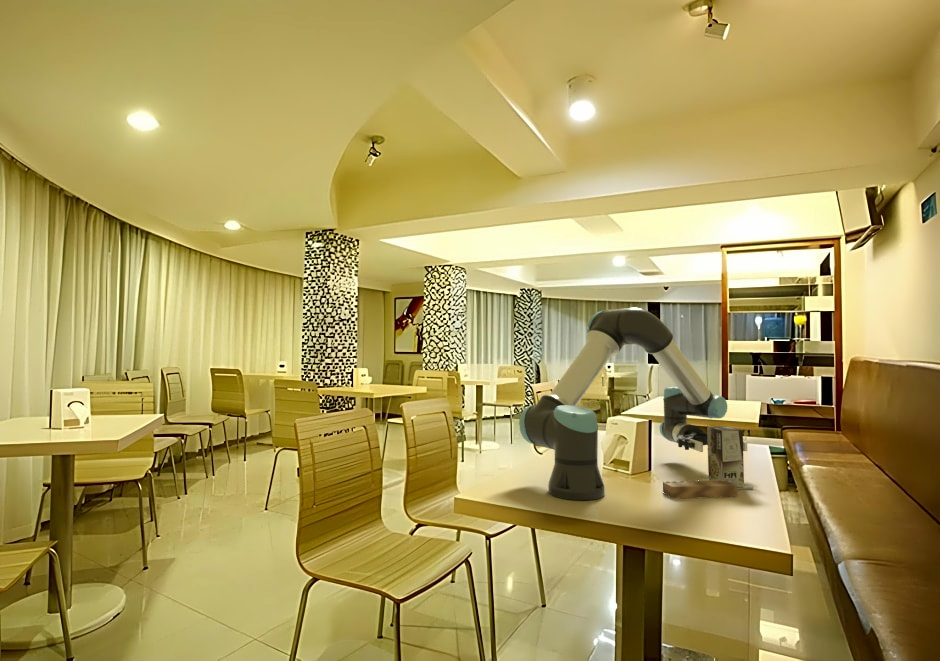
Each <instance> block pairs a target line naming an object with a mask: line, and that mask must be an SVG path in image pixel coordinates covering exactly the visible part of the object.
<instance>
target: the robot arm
mask: <svg viewBox="0 0 940 661" xmlns="http://www.w3.org/2000/svg"><path fill="white" fill-rule="evenodd" d="M587 327H588V329H586V331H587V333H586V338H587V342H586V343H585V344H584V346H583V348H581V350H580V352H579V353H578V354H577V356H576V357H575V359H574V360H573V362H572V363H571V364H570V365H569V367H567V369H566V371H565V373H564V374H563V376H561V378H560V379H559V380H558V382H557V384H556V385H555V386H554V387H553V389H552V391H550V393H549V394H543V395H542V396H541V397H540V399H539V400H538V402H537V403H536V404H532V405H530V406H527V407H526V408H524V409H523V410H522V412H521V414H520V416H519V420H518V425H519V431H520V434H521V436H522V438H523V439H524V440H525V441H526V442H527V443H530V444H532V445H533V446H535V447H542V448H546V449H551V450H553V451H554V464H553V468H552V472H551V475H550V477H549V481H548V486H547V487H548V493H549V494H550V495H552V496H553V497H556V498H560V499H564V500H571V501H572V500H573V501H592V500H598V499H601V498H603V497H605V493H606V492H605V485H604V481H603V479H602V478H603V477H602V475H601V472H600V470H599V466H598V457H599V456H598V451H599V450H598V448H599V447H598V446H599V445H598V444H599V443H598V438H599V437H598V435H599V434H598V432H599V431H598V430H599V425H598V420H597V419H598V416H597V414H596V412H595V411H594V410H592V409H590V408H588V407H584V406H579V403H580V401H581V400H582V398H583V397H584V396H585V394H586V392H587V391H588V390H589V388H590V387H591V385H592V384H593V382H594V381H595V379H596V378H597V376H598V375H599V374H600V373H601V371H602V369H603V367H604V366H605V365H606V364H607V362H608V360H609V359H610V358H611V357H614V356H617V355H618V354H619V353H620V351H621V350H622V348H623V347H624V346H625V345H637V346H639V347H641V348H642V349H643V350H644V351H645V352H646V353H647V354H650V355H652V356H653V357H654V358H655V360H656V361H657V362H658V364H660V366H661V368H663V370H664V371H665V373H666V374H667V375H668V376H669V378H670V379H671V381H672V382H673V383H674V384H675V386H668V387H664V390H663V421H662V422H661V423H660V425H659V432H660V435H661V436H662V437H663V438H664V439H666V440H667V441H670V442H673V443H676V444H677V446H678V447H679V448H684V450H685V451H688V450H690V449H692V450H693V451H694V450H695V451H697V452H699V453H704V446H708V442H707V432H704V431H703V429H702V428H701V427H700V426H697V425H694V424H690V423H688V420H687V418H688V416H690V417H691V416H692V417H700V418H707V419H722V418H724V417H725V415H726V414H727V412H728V402H727V400H726V398H725V397H724V396H722V395H717V394H715V395H714V394H713V393H712V392H711V390H710V389H709V388H708V386H707V385H706V383H705V382H704V381H703V379H702V378H701V377H700V375H699V373H698V372H697V371H696V369H695V368H694V367H693V366H692V365H691V363H690V362H689V360H688V358H686V356H685V355H684V353H683V352H682V351H681V350H680V348H679V347H678V345H677V343H675V341H674V334H673V333H672V332H671V330H670V328H668V327H667V325H666V324H665V323H664V322H663V321H662V320H661V319H659V317H657V316H656V315H654V314H653V313H651V312H650V311H648V310H646V309H644V308H640V307H627V308H625V307H624V308H616V309H615V308H614V309H613V308H612V309H603V310H600V311H598V312H596V313H595V314H593V315H592V316H591V317H590V318H589V321H588V323H587ZM743 452H748V442H747V441H744V440H743Z"/></svg>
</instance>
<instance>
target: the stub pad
mask: <svg viewBox="0 0 940 661" xmlns="http://www.w3.org/2000/svg"><path fill="white" fill-rule="evenodd" d="M697 480H699V481H700V480H704V481H707V480H709V478H696V481H697ZM737 489H742V490H743V489H744V490H753V487H752V486H750V485H748V484H745V483H744V487H737Z"/></svg>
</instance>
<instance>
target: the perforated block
mask: <svg viewBox="0 0 940 661" xmlns="http://www.w3.org/2000/svg"><path fill="white" fill-rule="evenodd" d="M663 492H664V493H665V495H666V494H667V495H666V496H668V495H669V496H670V498H671V497H672V498H671V499H697V497H707V498H729V497H728V496H737V497H738V490H737V485H735V484H732V483H730V482H728V481H725V480H721V481H718V480H714V481H711V480H707V481H704V480H700V481H697V479H695V480H694V479H693V480H685V481H684V480H679V481H676V480H672V481H669V480H666V481H662V493H663ZM664 493H663V494H664ZM669 496H668V497H669Z"/></svg>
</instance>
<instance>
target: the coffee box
mask: <svg viewBox="0 0 940 661" xmlns="http://www.w3.org/2000/svg"><path fill="white" fill-rule="evenodd" d="M706 433H707V442H708V445H707V466H708V468H707V469H708V479H709V480H711V481H714V480H718V481H721V480H725V481H728V482H730V483H732V484H735V485H737V487H744V484H745V477H744V476H745V468H744V467H745V466H744V463H745V462H744V451H743V441H744V430H743V429H741V428H740V429H739V428H734V427H732V426H726V425H719V426H716V425H715V426H707V427H706Z"/></svg>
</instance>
